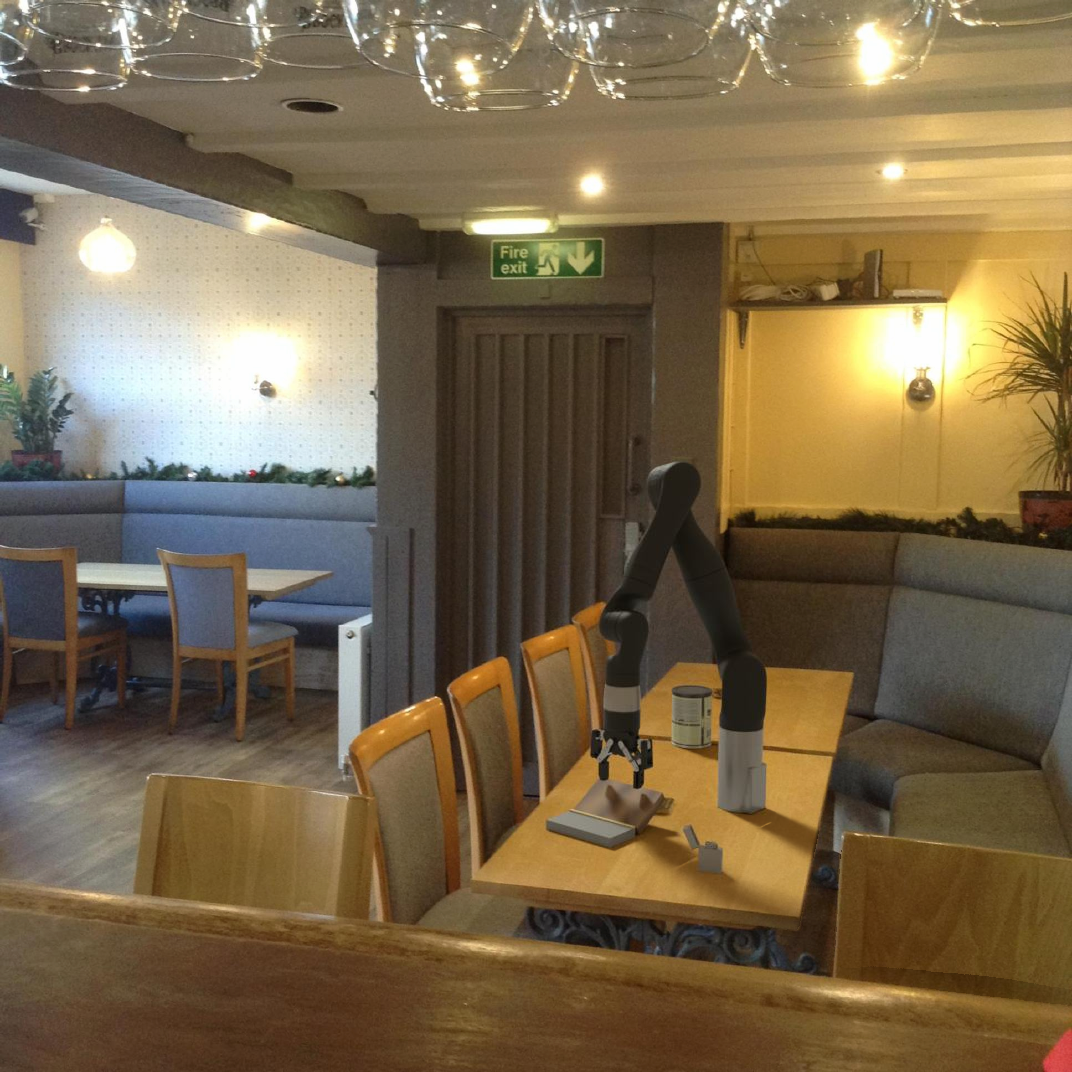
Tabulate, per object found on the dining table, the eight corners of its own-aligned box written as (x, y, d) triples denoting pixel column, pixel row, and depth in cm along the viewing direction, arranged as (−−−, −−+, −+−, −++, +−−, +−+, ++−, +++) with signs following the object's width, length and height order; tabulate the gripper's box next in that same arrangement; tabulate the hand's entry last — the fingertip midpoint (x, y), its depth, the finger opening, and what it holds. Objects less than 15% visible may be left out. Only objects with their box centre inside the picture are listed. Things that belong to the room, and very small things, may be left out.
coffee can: (670, 737, 306) (671, 684, 305) (710, 739, 305) (711, 685, 304) (670, 748, 296) (671, 693, 295) (712, 749, 295) (713, 694, 294)
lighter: (722, 870, 213) (723, 827, 213) (720, 874, 212) (721, 830, 211) (683, 865, 216) (684, 822, 215) (681, 868, 214) (682, 825, 213)
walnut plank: (665, 799, 238) (662, 792, 237) (639, 834, 231) (636, 827, 231) (602, 783, 248) (599, 776, 247) (576, 817, 242) (573, 810, 241)
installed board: (635, 837, 230) (635, 826, 230) (610, 848, 224) (610, 836, 224) (571, 819, 241) (571, 808, 241) (546, 829, 235) (546, 818, 235)
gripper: (661, 708, 238) (659, 787, 239) (605, 697, 247) (604, 773, 249) (639, 715, 232) (637, 795, 234) (583, 703, 242) (582, 781, 243)
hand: (620, 784), depth 241 cm, fingers open, 8 cm apart
